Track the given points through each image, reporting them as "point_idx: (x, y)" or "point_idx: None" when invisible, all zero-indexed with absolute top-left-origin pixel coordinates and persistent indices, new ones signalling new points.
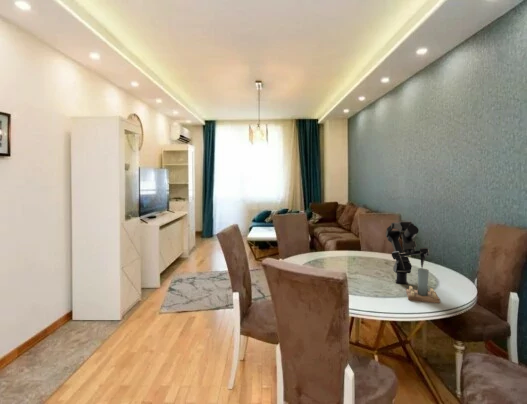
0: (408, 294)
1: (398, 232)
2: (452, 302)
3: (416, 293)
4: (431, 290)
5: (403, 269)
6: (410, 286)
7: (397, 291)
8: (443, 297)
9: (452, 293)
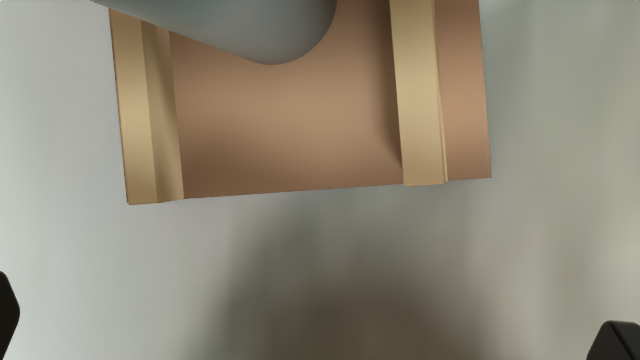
0: None
1: None
2: (24, 41)
3: (349, 1)
4: (143, 74)
5: (619, 331)
6: (425, 149)
7: (626, 190)
8: (86, 174)
9: (5, 353)
